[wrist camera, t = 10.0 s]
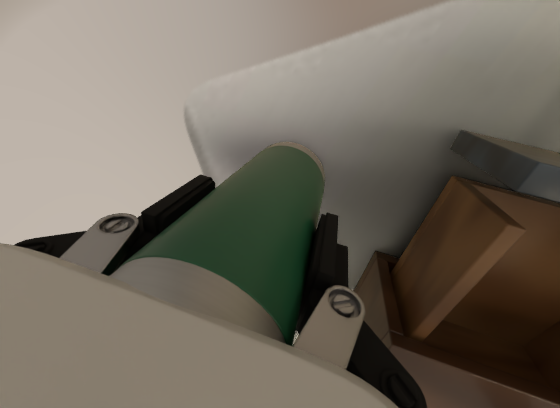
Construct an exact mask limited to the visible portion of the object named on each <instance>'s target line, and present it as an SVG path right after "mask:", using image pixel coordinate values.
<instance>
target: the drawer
mask: <svg viewBox="0 0 560 408" xmlns="http://www.w3.org/2000/svg"><path fill="white" fill-rule="evenodd" d="M450 149H451V150H452V151H454V152H455V153H457V154H458V155H460V156H461V157H463V158H465V159H466V160H468V161H469V162H471V163H472V164H474V165H475V166H477V167H479V168H480V169H482V170H483V171H485V172H486V173H488V174H489V175H491V176H492V177H494V178H496V179H497V180H499V181H500V182H502V183H503V184H505V185H506V186H508V187H509V188H511V189H513V190H514V191H516V192H513V191H509V190H505V189H502V188H498V187H494V186H490V185H486V184H483V183H479V182H475V181H471V180H467V179H464V178H460V177H456V176H452V177H451V178H450V180H449V181H448V183H447V185H446V186H445V188H444V189H443V191H442V192H441V194H440V196H439V197H438V199H437V200H436V202H435V203H434V205H433V207H432V208H431V210H430V211H429V213H428V215H427V216H426V218H425V219H424V221H423V222H422V224H421V226H420V227H419V229H418V230H417V232H416V234H415V235H414V237H413V238H412V240H411V241H410V243H409V245H408V246H407V248H406V249H405V251H404V253H403V254H402V256H401V257H400V259H399V260H398V262H397V264H396V265H395V267H394V268H393V270H392V272H391V273H390V276H391V281H392V285H393V289H394V294H395V298H396V302H397V307H398V311H399V316H400V320H401V324H402V329H403V333H404V336H405V337H408V338H411V339H414V340H416V341H419V342H422V343H425V344H428V345H431V346H433V347H436V348H439V349H442V350H445V351H448V352H450V353H453V354H456V355H459V356H462V357H465V358H467V359H470V360H473V361H476V362H479V363H482V364H485V365H487V366H490V367H493V368H496V369H499V370H502V371H504V372H507V373H510V374H513V375H516V376H519V377H521V378H524V379H527V380H530V381H533V382H536V383H538V384H541V385H544V386H547V387H550V388H553V389H555V390H558V391H560V204H559V203H560V153H558V152H554V151H549V150H545V149H541V148H537V147H532V146H528V145H524V144H520V143H516V142H511V141H507V140H503V139H499V138H495V137H490V136H486V135H482V134H478V133H474V132H469V131H465V130H461V131H460V132H459V134H458V136H457V137H456V139H455V141H454V142H453V144H452V146H451V148H450ZM517 192H519V193H517ZM521 193H523V194H521ZM525 194H527V195H525ZM528 195H531V196H528ZM532 196H535V197H532ZM536 197H539V198H536ZM540 198H542V199H540ZM544 199H546V200H544ZM547 200H550V201H547ZM551 201H554V202H551ZM555 202H558V203H555Z"/></svg>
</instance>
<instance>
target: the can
mask: <svg viewBox="0 0 560 408" xmlns="http://www.w3.org/2000/svg"><path fill="white" fill-rule="evenodd" d="M324 186H325V174H324V169H323V166H322V164H321V162H320V161H319V159H318V158H317V156H316V155H315V154H314V153H313V152H312V151H310V150H309V149H308V148H306V147H304V146H302V145H300V144H297V143H293V142H279V143H275V144H272V145H270V146H268V147H267V148H265V149H264V150H263V151H261V152H260V153H258V154H257V155H256V156H255V157H253V158H252V159H251V160H250V161H248V162H247V163H246V164H245V165H244V166H242V167H241V168H240V169H239V170H237V171H236V172H235V173H234V174H232V175H231V176H230V177H229V178H228V179H226V180H225V181H224V182H223V183H221V184H220V185H219V186H218V187H216V188H215V189H214V190H213V191H212V192H210V193H209V194H208V195H207V196H205V197H204V198H203V199H202V200H200V201H199V202H198V203H197V204H196V205H194V206H193V207H192V208H191V209H189V210H188V211H187V212H186V213H184V214H183V215H182V216H181V217H180V218H178V219H177V220H176V221H175V222H173V223H172V224H171V225H170V226H168V227H167V228H166V229H165V230H164V231H162V232H161V233H160V234H159V235H157V236H156V237H155V238H154V239H152V240H151V241H150V242H149V243H148V244H146V245H145V246H144V247H143V248H141V249H140V250H139V251H138V252H137V253H135V254H134V255H133V256H132V257H130V258H129V259H128V260H127V261H125V262H124V263H123V264H122V265H121V266H120V267H119V268H118V269H117V270H116V271H115V272H114V273H113V274H111V275H110V276H109V277H112V278H115V279H117V280H120V281H123V282H125V283H127V284H129V285H131V286H133V287H134V288H136V289H138V290H140V291H143V292H145V293H147V294H149V295H151V296H154V297H156V298H159V299H161V300H164V301H166V302H169V303H172V304H174V305H177V306H180V307H183V308H186V309H189V310H192V311H195V312H199V313H202V314H205V315H209V316H212V317H216V318H219V319H223V320H225V321H228V322H231V323H233V324H236V325H238V326H241V327H244V328H246V329H249V330H251V331H254V332H257V333H259V334H262V335H264V336H267V337H270V338H272V339H275V340H277V341H280V342H282V343H285V344H287V345H290V346H292V345H293V340H294V335H295V330H296V325H297V320H298V315H299V311H300V306H301V301H302V296H303V291H304V286H305V281H306V276H307V271H308V266H309V262H310V257H311V252H312V247H313V242H314V237H315V232H316V227H317V222H318V217H319V213H320V208H321V203H322V198H323V193H324Z"/></svg>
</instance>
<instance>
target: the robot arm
mask: <svg viewBox="0 0 560 408" xmlns="http://www.w3.org/2000/svg"><path fill="white" fill-rule="evenodd" d="M214 189H215V182H214V181H213V180H212V178H211V177H207V176H204V175H199V176H197V177H196V178H194V179H193V180H191V181H189V182H188V183H186V184H185V185H183V186H181V187H180V188H178V189H177V190H175V191H174V192H172V193H170V194H169V195H167V196H166V197H164V198H163V199H161V200H159V201H158V202H156V203H155V204H153V205H152V206H150V207H149V208H147V209H145V210H144V211H142V212H141V214H142V215H141V216H139V217H138V218H137V217H136V216H134V215H131V214H125V213H119V214H112V215H108V216H106V217H103V218H101V219H100V220H99V221H97V222H96V223H95V224H94V225H93V226H92V227H91V228H90V229H89V230H88V231H83V232H75V233H69V234H61V235H54V236H47V237H40V238H34V239H29V240H25V241H22V242H19V243H17V244H15V245H9V244H1V243H0V408H427V404H426V400H425V397H424V394H423V392H422V390H421V388H420V387H419V385H418V384H417V382H416V381H415V380H414V378H413V377H412V376H411V375H410V374H409V373H408V371H407V370H406V369H405V368H404V367H403V366H402V364H401V363H400V362H399V361H398V360H397V358H396V357H395V356H394V355H393V354H392V353H391V351H390V350H389V349H388V348H387V347H386V346H385V344H384V343H383V342H382V341H381V340H380V339H379V337H378V336H377V335H376V334H375V333H374V332H373V330H372V329H371V328H370V327H369V326H368V325H367V323H366V322H365V321H364V317H365V312H366V309H365V305H364V303H363V301H362V299H361V298H360V297H359V296H358V294H357V293H355V292H354V291H353V290H351V289H349V288H348V247H347V246H344V245H340V244H337V231H338V216H337V215H334V214H331V213H326V215H324V214H322V215H321V218H320V220H319V223H318V226H317V229H316V232H315V237H314V242H313V247H312V252H311V257H310V262H309V266H308V271H307V276H306V281H305V286H304V291H303V296H302V301H301V306H300V311H299V315H298V320H297V325H296V330H297V331H298V333H299V336H298V337H297V339H296V341H295V342H294V344H293V346H290V345H287V344H285V343H282V342H280V341H277V340H275V339H272V338H270V337H267V336H264V335H262V334H259V333H257V332H254V331H251V330H249V329H246V328H244V327H241V326H238V325H236V324H233V323H231V322H228V321H225V320H223V319H219V318H216V317H212V316H209V315H205V314H202V313H199V312H195V311H192V310H189V309H186V308H183V307H180V306H177V305H174V304H172V303H169V302H166V301H164V300H161V299H159V298H156V297H154V296H151V295H149V294H147V293H145V292H143V291H140V290H138V289H136V288H134V287H133V286H131V285H129V284H127V283H125V282H123V281H120V280H117V279H115V278H112V277H109V276H110V275H111V274H113V273H114V272H115V271H116V270H117V269H118V268H119V267H120V266H121V265H122V264H123V263H124V262H125V261H127V260H128V259H129V258H130V257H132V256H133V255H134V254H135V253H137V252H138V251H139V250H140V249H141V248H143V247H144V246H145V245H146V244H148V243H149V242H150V241H151V240H152V239H154V238H155V237H156V236H157V235H159V234H160V233H161V232H162V231H164V230H165V229H166V228H167V227H168V226H170V225H171V224H172V223H173V222H175V221H176V220H177V219H178V218H180V217H181V216H182V215H183V214H184V213H186V212H187V211H188V210H189V209H191V208H192V207H193V206H194V205H196V204H197V203H198V202H199V201H200V200H202V199H203V198H204V197H205V196H207V195H208V194H209V193H210V192H212V191H213V190H214Z"/></svg>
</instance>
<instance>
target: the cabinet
mask: <svg viewBox="0 0 560 408" xmlns="http://www.w3.org/2000/svg"><path fill="white" fill-rule="evenodd" d="M399 259H400V258H397V257H394V256H390V255H387V254H384V253H381V252H378V251H375V253H374V255H373V256H372V258H371V260H370V262H369V264H368V266H367V267H366V269H365V271H364V273H363V275H362V277H361V278H360V280H359V282H358V284H357V286H356V288H355V289H354V292H355V293H357V294H358V296H359V297H360V298H361V299H362V301H363V303H364V305H365V309H366V312H365V317H364V321H365V322H366V323H367V325H368V326H369V327H370V328H371V329H372V330H373V332H374V333H375V334H376V335H377V336H378V337H379V339H380V340H381V341H382V342H383V343H384V344H385V346H386V347H387V348H388V349H389V350H390V351H391V353H392V354H393V355H394V356H395V357H396V358H397V360H398V361H399V362H400V363H401V364H402V366H403V367H404V368H405V369H406V370H407V371H408V373H409V374H410V375H411V376H412V377H413V378H414V380H415V381H416V382H417V384H418V385H419V387H420V388H421V390H422V392H423V394H424V397H425V400H426V404H427V408H560V391H558V390H555V389H553V388H550V387H547V386H544V385H541V384H538V383H536V382H533V381H530V380H527V379H524V378H521V377H519V376H516V375H513V374H510V373H507V372H504V371H502V370H499V369H496V368H493V367H490V366H487V365H485V364H482V363H479V362H476V361H473V360H470V359H467V358H465V357H462V356H459V355H456V354H453V353H450V352H448V351H445V350H442V349H439V348H436V347H433V346H431V345H428V344H425V343H422V342H419V341H416V340H414V339H411V338H408V337H405V336H404V333H403V329H402V324H401V320H400V316H399V311H398V307H397V302H396V298H395V294H394V289H393V285H392V281H391V276H390V273H391V272H392V270H393V268H394V267H395V265H396V264H397V262H398V260H399Z"/></svg>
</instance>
